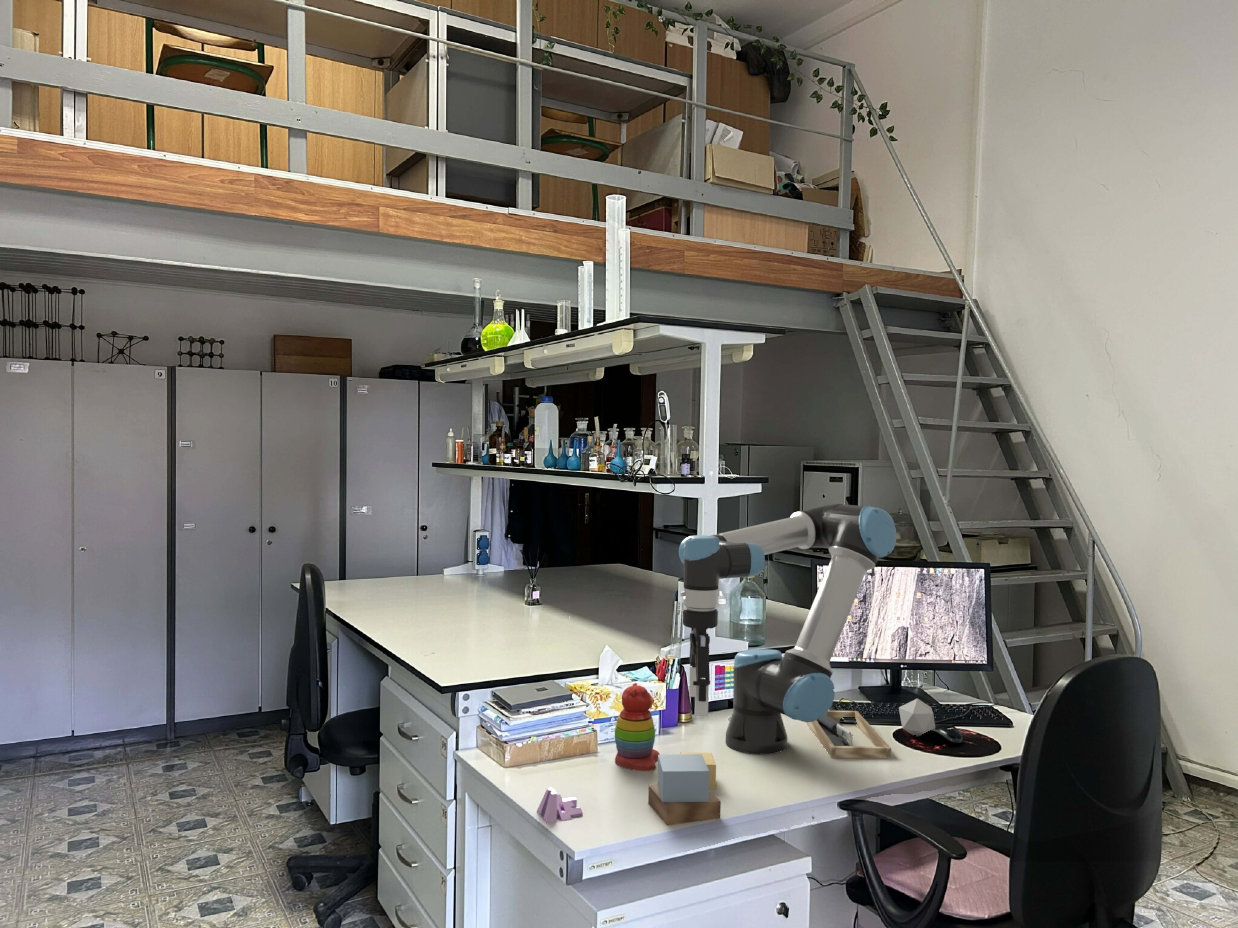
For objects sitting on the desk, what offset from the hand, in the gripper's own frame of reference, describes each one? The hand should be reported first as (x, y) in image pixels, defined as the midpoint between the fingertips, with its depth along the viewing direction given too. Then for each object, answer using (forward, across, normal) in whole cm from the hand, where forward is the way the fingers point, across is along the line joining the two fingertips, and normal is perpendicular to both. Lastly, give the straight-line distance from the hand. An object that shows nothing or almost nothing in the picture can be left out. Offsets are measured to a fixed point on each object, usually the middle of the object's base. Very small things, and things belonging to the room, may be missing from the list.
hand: (698, 705), depth 183 cm
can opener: (+18, -30, +37) cm, 50 cm away
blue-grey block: (+13, +15, -4) cm, 20 cm away
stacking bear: (+18, -13, -13) cm, 25 cm away
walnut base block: (+18, +15, -4) cm, 24 cm away
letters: (+18, +17, -28) cm, 38 cm away
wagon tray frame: (+17, -30, +40) cm, 53 cm away
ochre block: (+18, 0, 0) cm, 18 cm away
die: (+17, -33, +59) cm, 70 cm away
